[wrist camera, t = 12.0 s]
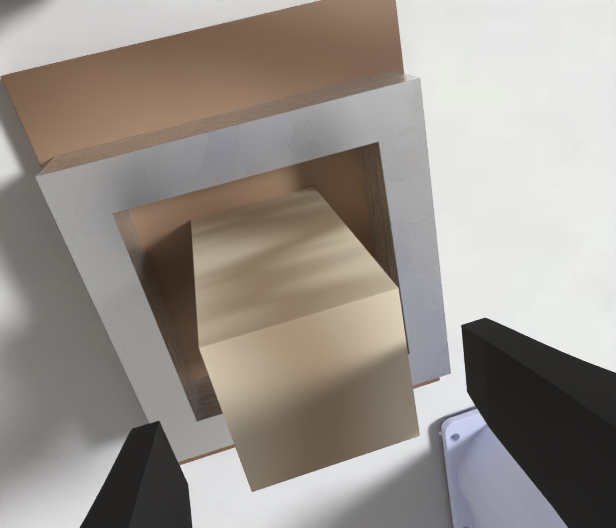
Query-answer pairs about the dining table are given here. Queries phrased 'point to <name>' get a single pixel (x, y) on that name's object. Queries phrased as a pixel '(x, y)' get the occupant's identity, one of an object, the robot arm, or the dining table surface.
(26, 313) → the dining table surface
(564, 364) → the robot arm
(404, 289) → the collar board
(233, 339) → the peg
